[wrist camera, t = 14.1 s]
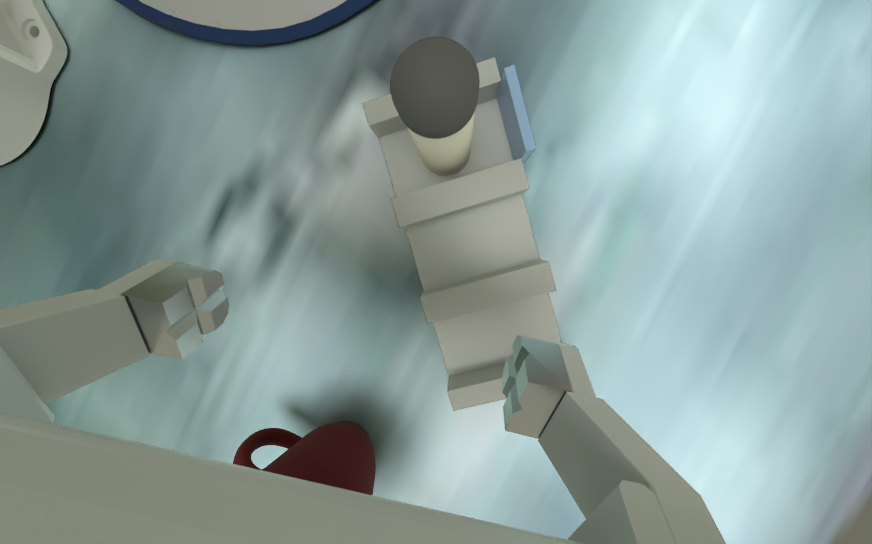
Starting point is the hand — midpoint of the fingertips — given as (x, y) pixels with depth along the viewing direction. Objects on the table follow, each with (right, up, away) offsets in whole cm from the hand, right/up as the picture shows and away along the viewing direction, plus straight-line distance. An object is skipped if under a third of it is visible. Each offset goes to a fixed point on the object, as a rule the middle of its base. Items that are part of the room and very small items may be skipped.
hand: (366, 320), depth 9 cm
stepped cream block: (+5, +4, +17) cm, 18 cm away
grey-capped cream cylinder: (+3, +10, +15) cm, 18 cm away
